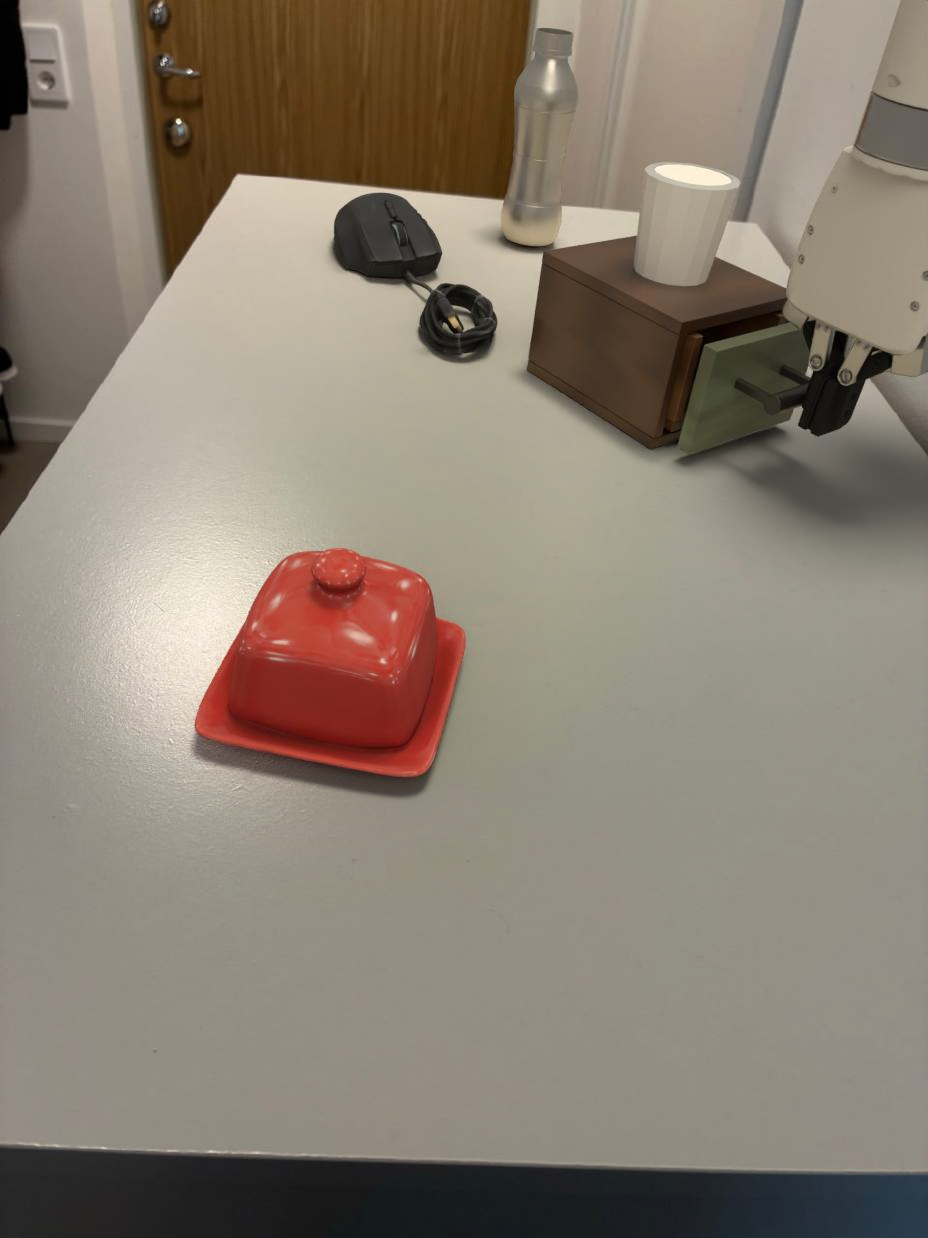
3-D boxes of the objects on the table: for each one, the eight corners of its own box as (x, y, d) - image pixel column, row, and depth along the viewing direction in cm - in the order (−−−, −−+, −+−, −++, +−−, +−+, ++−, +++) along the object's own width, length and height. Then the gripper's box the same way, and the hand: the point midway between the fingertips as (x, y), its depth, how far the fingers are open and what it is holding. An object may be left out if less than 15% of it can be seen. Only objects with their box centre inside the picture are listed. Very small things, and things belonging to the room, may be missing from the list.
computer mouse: (398, 230, 103) (400, 176, 100) (530, 355, 81) (539, 292, 78) (313, 234, 100) (313, 179, 96) (428, 366, 78) (432, 300, 74)
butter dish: (427, 801, 43) (441, 664, 38) (184, 753, 44) (163, 612, 39) (469, 641, 52) (486, 510, 46) (266, 603, 53) (259, 471, 47)
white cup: (734, 282, 71) (761, 183, 67) (669, 294, 68) (693, 191, 64) (671, 251, 76) (693, 157, 71) (606, 261, 72) (625, 163, 68)
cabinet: (762, 413, 77) (800, 294, 71) (650, 449, 71) (682, 322, 64) (635, 342, 86) (659, 231, 79) (526, 369, 79) (543, 250, 73)
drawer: (834, 444, 72) (872, 345, 67) (732, 482, 66) (765, 376, 61) (666, 352, 82) (688, 260, 77) (566, 378, 76) (582, 280, 71)
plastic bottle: (532, 257, 100) (562, 39, 88) (485, 239, 104) (506, 26, 91) (569, 246, 104) (602, 35, 92) (522, 228, 108) (548, 23, 95)
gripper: (1086, 169, 51) (945, 464, 63) (856, 103, 60) (770, 373, 72) (1016, 182, 48) (880, 493, 59) (781, 109, 56) (703, 393, 68)
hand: (820, 426), depth 66 cm, fingers closed
